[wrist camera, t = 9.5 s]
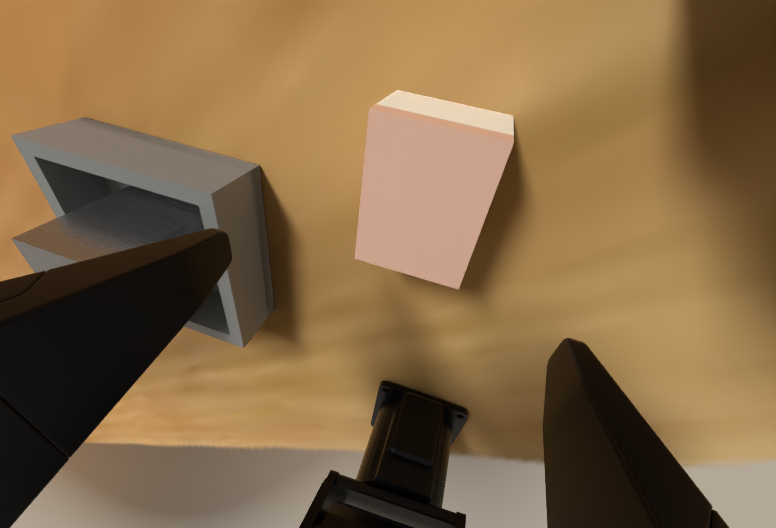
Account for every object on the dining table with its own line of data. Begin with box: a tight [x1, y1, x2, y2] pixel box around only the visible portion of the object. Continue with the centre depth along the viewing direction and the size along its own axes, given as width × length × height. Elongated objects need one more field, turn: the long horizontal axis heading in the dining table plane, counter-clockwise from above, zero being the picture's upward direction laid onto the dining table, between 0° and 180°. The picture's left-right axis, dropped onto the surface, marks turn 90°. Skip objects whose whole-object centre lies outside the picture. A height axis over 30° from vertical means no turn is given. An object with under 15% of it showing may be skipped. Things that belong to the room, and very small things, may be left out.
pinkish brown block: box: [355, 90, 514, 290], centre depth 13 cm, size 6×4×4 cm
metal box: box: [12, 185, 204, 273], centre depth 18 cm, size 5×5×6 cm
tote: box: [11, 117, 275, 348], centre depth 19 cm, size 11×11×4 cm
